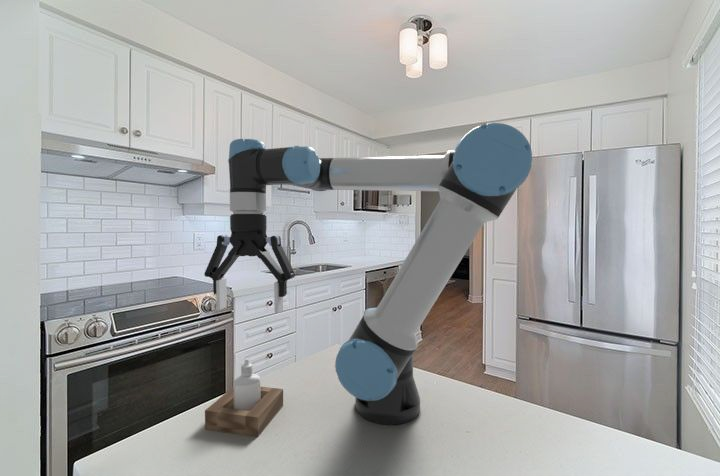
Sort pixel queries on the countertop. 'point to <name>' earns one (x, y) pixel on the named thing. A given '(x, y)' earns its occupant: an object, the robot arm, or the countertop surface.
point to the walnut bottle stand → (244, 413)
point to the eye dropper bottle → (246, 388)
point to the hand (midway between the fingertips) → (249, 310)
